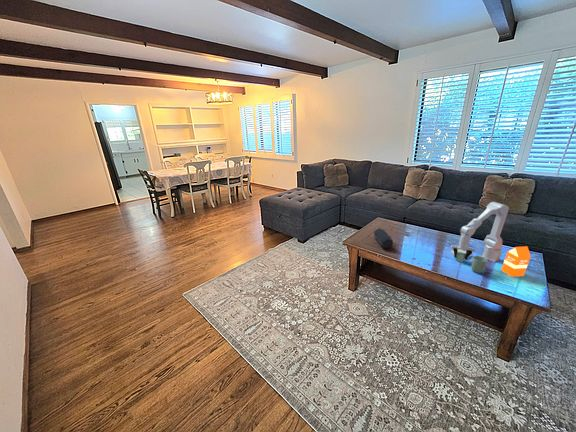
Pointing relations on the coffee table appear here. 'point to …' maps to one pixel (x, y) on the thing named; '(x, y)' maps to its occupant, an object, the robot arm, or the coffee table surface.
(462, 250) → the tray
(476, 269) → the cup
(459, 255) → the block
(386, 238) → the portable speaker
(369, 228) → the coffee table surface
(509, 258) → the orange juice
